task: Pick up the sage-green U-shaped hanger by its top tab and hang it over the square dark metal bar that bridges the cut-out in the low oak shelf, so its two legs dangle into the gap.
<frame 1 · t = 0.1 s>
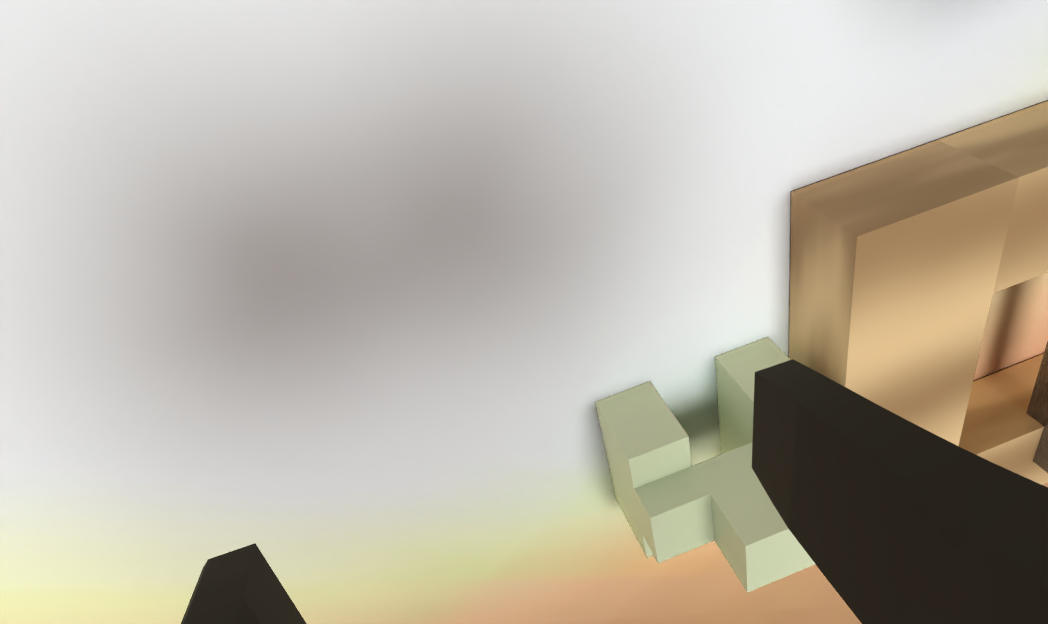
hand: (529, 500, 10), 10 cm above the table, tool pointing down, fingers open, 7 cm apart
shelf: (955, 319, 27), on the table
hanger: (687, 420, 26), on the table
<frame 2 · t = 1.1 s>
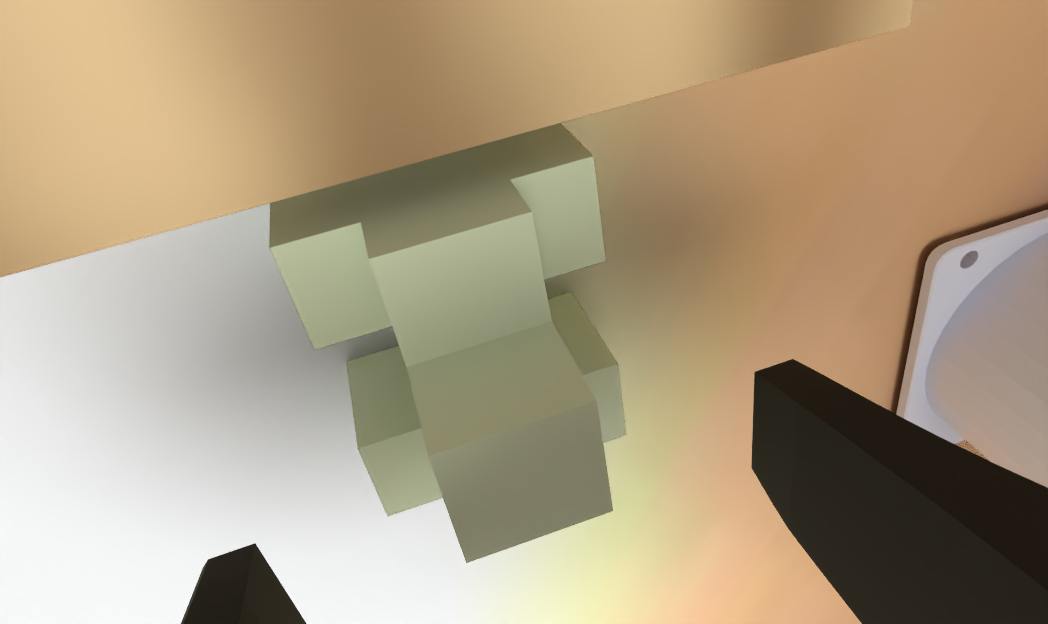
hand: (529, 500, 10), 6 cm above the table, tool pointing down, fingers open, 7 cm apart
hanger: (448, 280, 15), on the table
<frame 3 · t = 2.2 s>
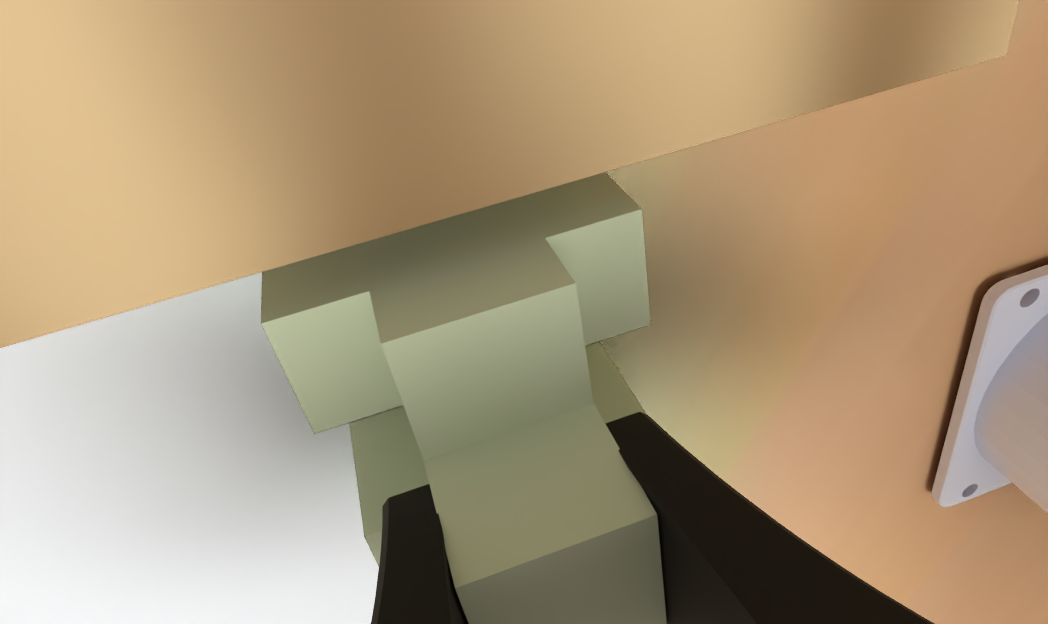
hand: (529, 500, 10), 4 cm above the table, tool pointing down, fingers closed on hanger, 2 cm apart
hanger: (464, 334, 13), on the table, touching gripper
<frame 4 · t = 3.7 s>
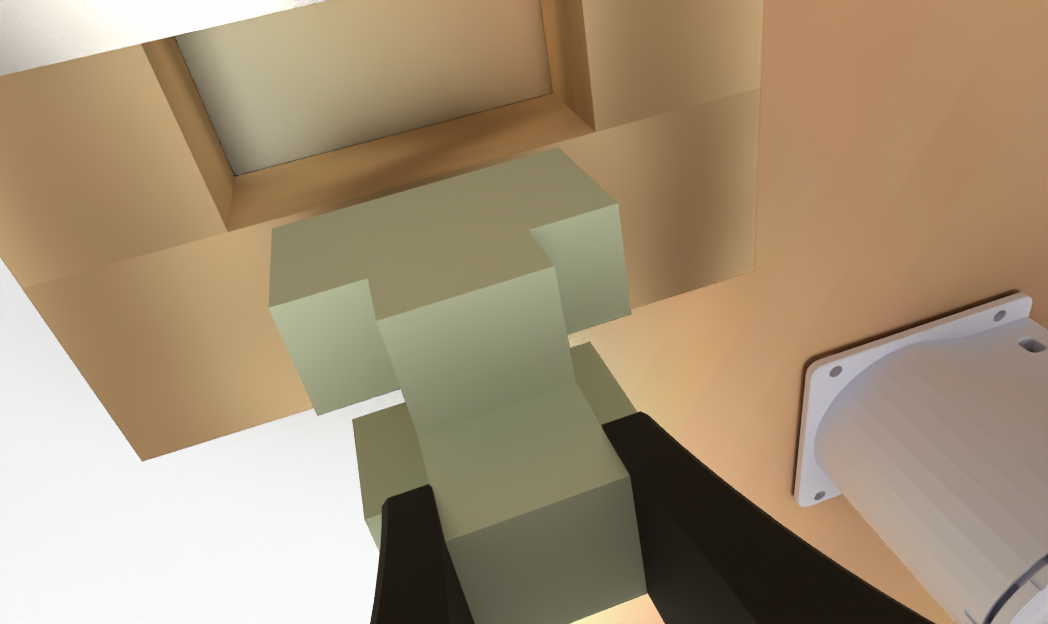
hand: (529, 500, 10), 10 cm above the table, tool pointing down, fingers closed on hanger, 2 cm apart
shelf: (376, 50, 16), on the table
hanger: (460, 333, 14), point 6 cm above the table, touching gripper
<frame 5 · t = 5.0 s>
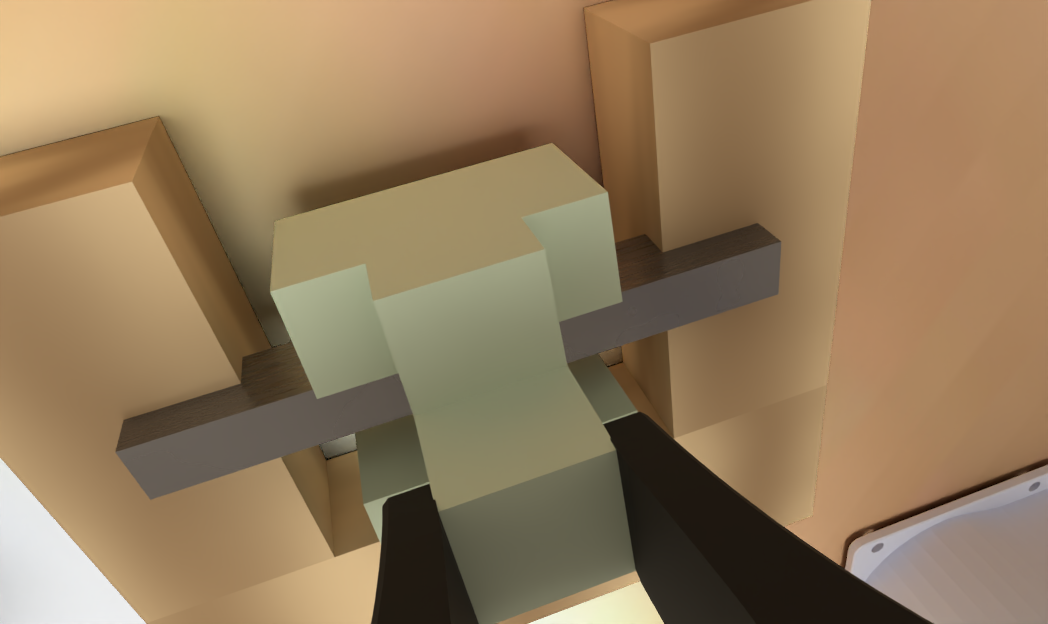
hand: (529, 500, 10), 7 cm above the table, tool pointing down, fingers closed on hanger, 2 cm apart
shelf: (462, 350, 17), on the table
hanger: (458, 326, 15), point 2 cm above the table, touching gripper
when the fingers open (6 cm above the table, at t = 5.6 s): hanger stays where it is, resting on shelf.
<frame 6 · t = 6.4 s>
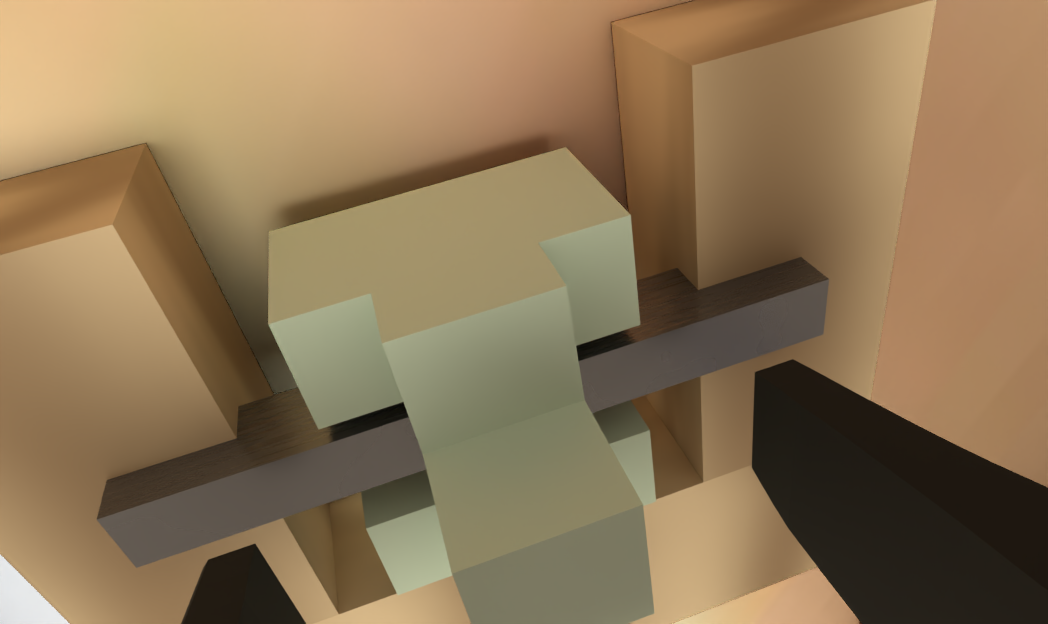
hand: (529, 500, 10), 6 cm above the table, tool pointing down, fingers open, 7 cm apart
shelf: (475, 386, 16), on the table
hanger: (462, 334, 14), point 1 cm above the table, touching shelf
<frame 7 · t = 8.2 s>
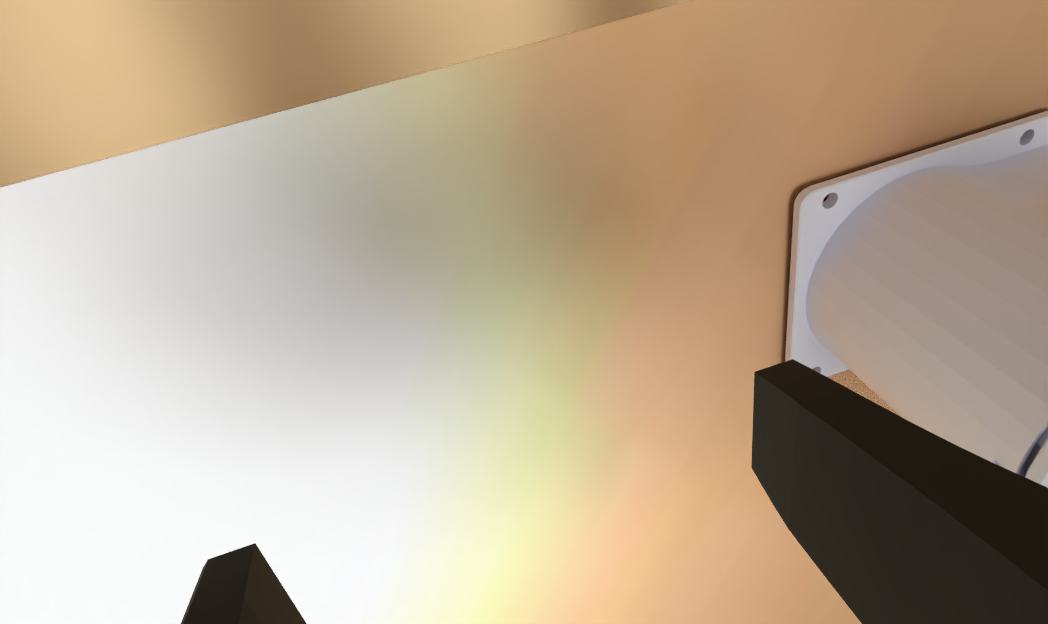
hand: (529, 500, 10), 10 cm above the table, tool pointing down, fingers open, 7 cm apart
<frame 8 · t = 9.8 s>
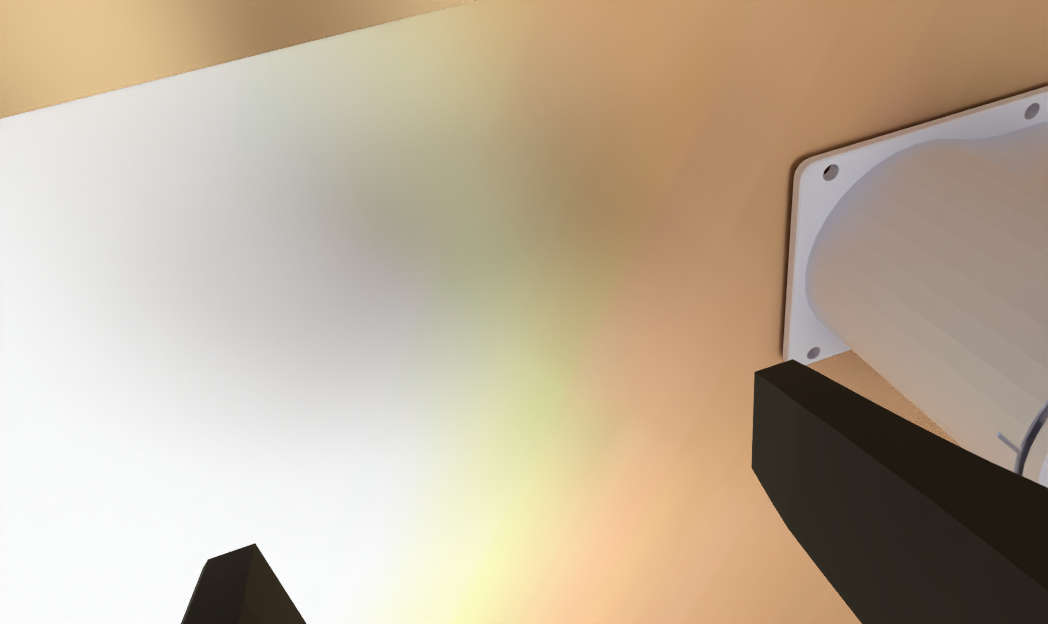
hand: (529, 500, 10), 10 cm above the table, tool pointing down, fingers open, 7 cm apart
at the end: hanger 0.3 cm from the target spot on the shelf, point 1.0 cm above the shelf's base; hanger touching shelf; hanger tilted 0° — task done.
